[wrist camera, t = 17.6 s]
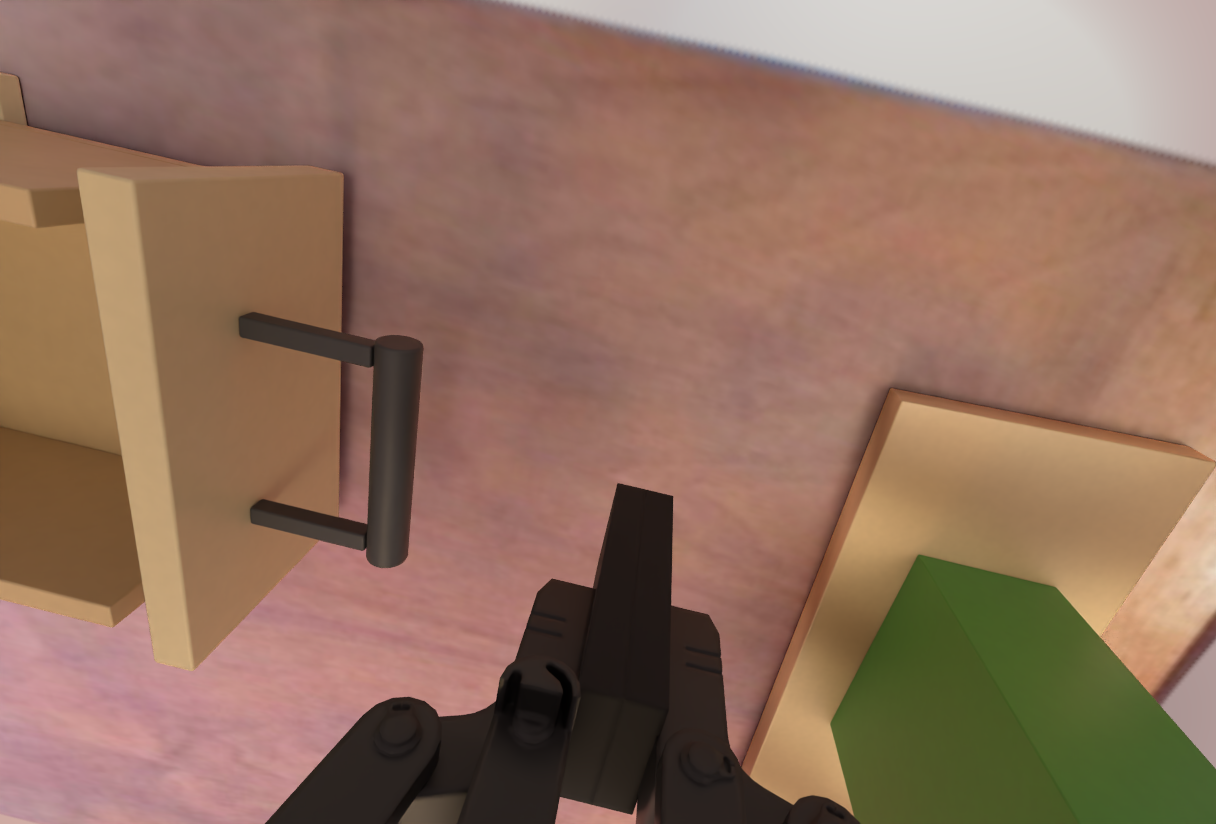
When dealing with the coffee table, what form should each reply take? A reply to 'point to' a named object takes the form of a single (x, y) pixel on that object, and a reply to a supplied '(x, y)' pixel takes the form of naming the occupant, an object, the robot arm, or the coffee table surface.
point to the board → (964, 546)
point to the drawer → (180, 387)
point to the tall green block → (1007, 715)
